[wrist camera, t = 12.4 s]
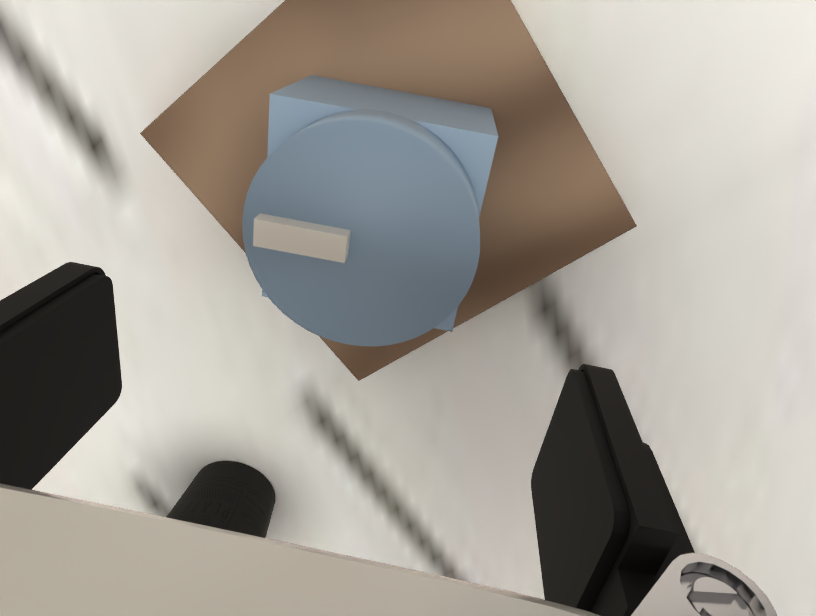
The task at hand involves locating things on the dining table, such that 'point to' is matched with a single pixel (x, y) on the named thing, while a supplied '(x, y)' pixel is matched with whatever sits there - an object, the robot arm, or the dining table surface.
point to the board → (423, 75)
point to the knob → (368, 209)
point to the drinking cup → (228, 499)
